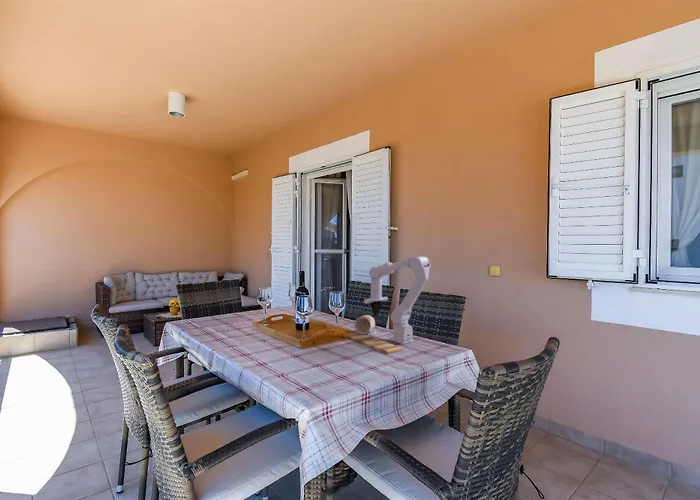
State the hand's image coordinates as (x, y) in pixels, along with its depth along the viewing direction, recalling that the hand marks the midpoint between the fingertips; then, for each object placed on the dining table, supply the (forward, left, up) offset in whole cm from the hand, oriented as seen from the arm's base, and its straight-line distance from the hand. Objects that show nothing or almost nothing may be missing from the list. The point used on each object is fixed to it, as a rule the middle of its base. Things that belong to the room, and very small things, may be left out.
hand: (375, 315), depth 191 cm
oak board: (-17, +11, -10) cm, 22 cm away
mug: (+9, -3, -7) cm, 12 cm away
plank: (+2, +11, -10) cm, 15 cm away
